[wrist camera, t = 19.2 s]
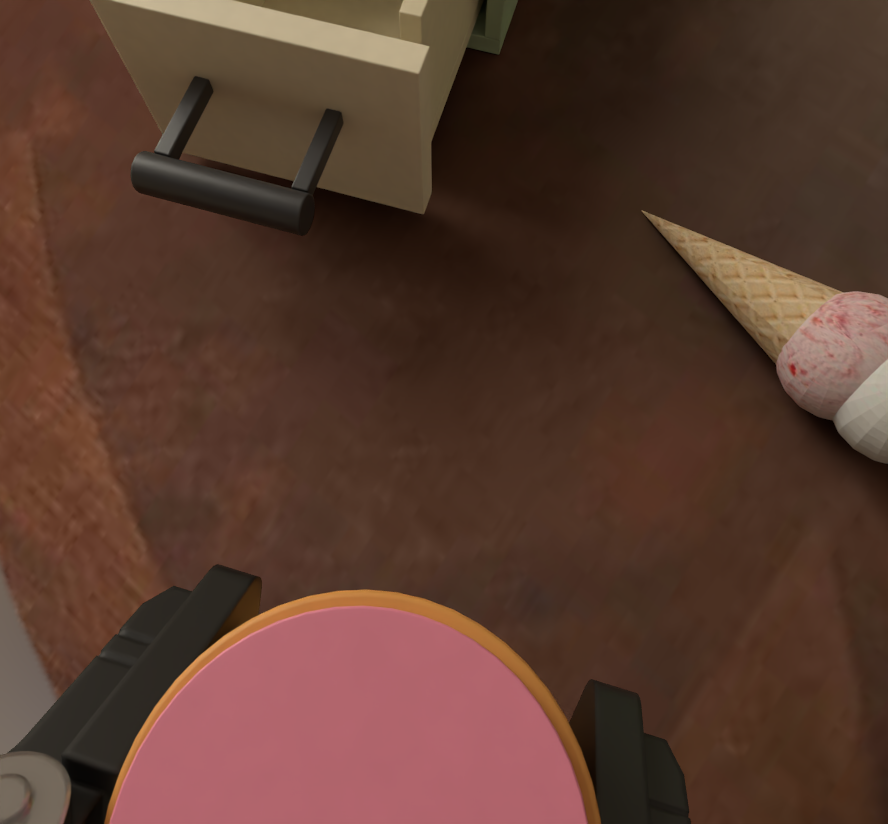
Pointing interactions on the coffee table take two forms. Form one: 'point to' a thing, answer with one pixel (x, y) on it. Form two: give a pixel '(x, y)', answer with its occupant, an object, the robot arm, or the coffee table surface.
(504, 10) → the cabinet
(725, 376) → the coffee table surface
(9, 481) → the coffee table surface
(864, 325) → the ice cream cone
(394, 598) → the pink-topped orange cylinder
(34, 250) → the coffee table surface
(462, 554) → the coffee table surface
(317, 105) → the drawer
